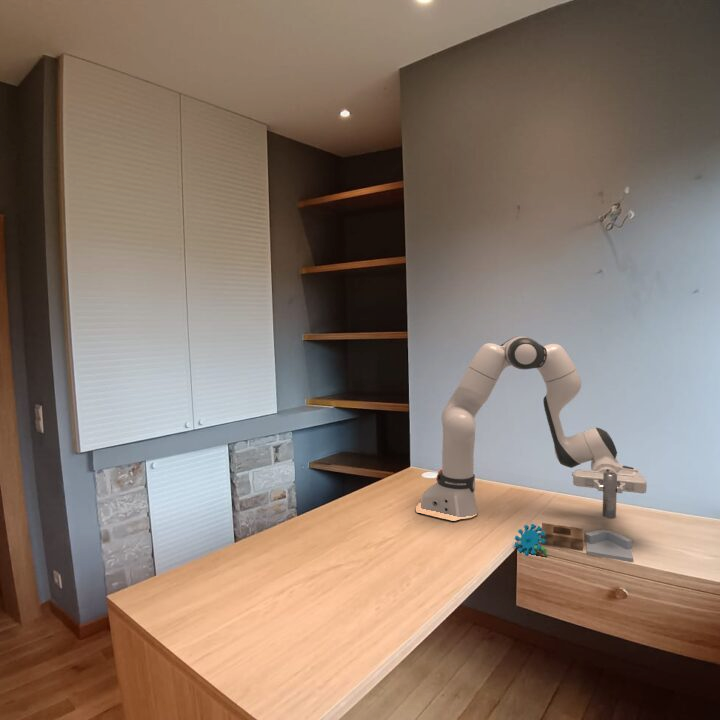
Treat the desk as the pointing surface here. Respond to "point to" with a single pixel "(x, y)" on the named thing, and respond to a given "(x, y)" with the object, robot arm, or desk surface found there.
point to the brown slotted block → (563, 536)
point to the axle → (609, 495)
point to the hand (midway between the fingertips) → (610, 489)
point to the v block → (609, 545)
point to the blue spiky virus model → (531, 540)
